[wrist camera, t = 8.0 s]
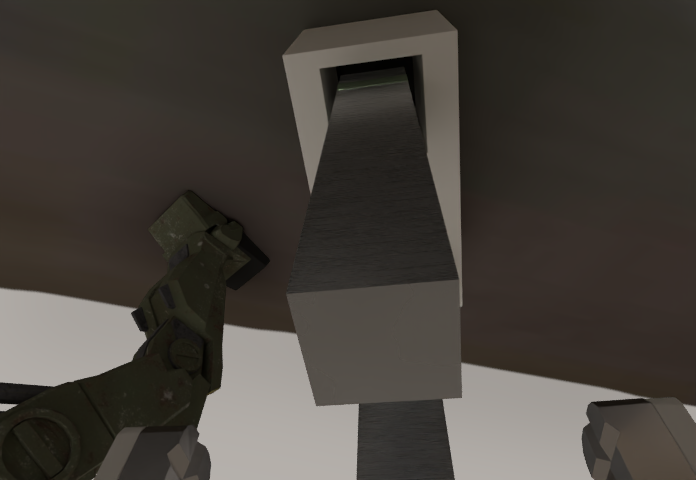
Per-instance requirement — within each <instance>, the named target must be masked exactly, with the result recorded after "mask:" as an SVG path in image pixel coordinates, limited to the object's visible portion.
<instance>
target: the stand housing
mask: <svg viewBox="0 0 696 480" xmlns="http://www.w3.org/2000/svg"><path fill="white" fill-rule="evenodd" d="M282 56H283V61H284V66H285V71H286V76H287V81H288V86H289V90H290V95H291V100H292V105H293V110H294V115H295V120H296V125H297V130H298V134H299V139H300V144H301V149H302V154H303V159H304V164H305V169H306V174H307V178H308V183H309V188H310V193H312V189H313V185H314V181H315V177H316V173H317V169H318V165H319V161H320V156H321V152H322V148H323V144H324V140H325V136H326V132H327V128H328V124H329V120H330V116H331V112H332V108H333V104H334V100H335V96H336V92H337V86H338V77H337V71H336V66H342V65H349V64H356V63H363V62H370V61H378V60H385V59H392V58H399V57H406V56H412V60H413V75H414V90H415V105H416V107H415V111H416V115H417V118H418V122H419V126H420V130H421V134H422V138H423V142H424V145H425V149H426V153H427V157H428V161H429V165H430V168H431V172H432V176H433V180H434V184H435V188H436V192H437V195H438V199H439V203H440V207H441V211H442V215H443V218H444V222H445V226H446V230H447V234H448V238H449V241H450V245H451V249H452V253H453V257H454V261H455V265H456V268H457V272H458V276H459V286H460V307H462V260H461V202H460V145H459V88H458V30H457V29H456V28H455V27H454V26H453V25H452V24H451V23H450V22H449V21H448V20H447V19H446V18H445V17H444V16H443V15H441V14H440V13H439V12H438V11H437V10H432V11H425V12H418V13H412V14H405V15H398V16H392V17H385V18H378V19H372V20H365V21H358V22H352V23H345V24H338V25H332V26H325V27H318V28H312V29H305V30H303V31H302V33H301V34H300V35H299V36H298V37H297V39H296V40H295V41H294V42H293V43H292V45H291V46H290V47H289V48H288V49H287V51H286V52H285V53H284V54H283V55H282Z"/></svg>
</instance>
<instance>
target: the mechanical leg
mask: <svg viewBox="0 0 696 480" xmlns="http://www.w3.org/2000/svg"><path fill="white" fill-rule="evenodd" d="M242 230H243V227H242V226H240V225H239V224H238V223H236V222H235V221H233V222H230V223H227V219H226V218H225V217H224V216H223V215H222V214H221V213H219V212H218V211H214V210H213V209H212V208H211V207H210V206H208V205H207V204H206V203H205V202H204V201H202V200H201V199H200V198H199V197H197V196H196V195H195V194H194V193H193V192H191V191H188V192H186V193H185V194H184V195H182V196H181V197H180V198H179V199H178V200H177V201H176V202H175V203H174V204H173V205H172V206H171V207H170V208H169V209H168V210H167V211H166V212H165V213H164V214H163V215H162V216H161V217H160V218H159V219H158V220H157V221H156V222H155V223H154V224H153V225H152V226H151V227H150V228H149V229H148V231H149V232H150V233H151V234H152V236H153V237H154V238H155V240H156V241H157V242H158V243H159V245H160V246H161V247H162V249H163V250H164V251H165V253H164V254H163V255H162V256H163V257H164V258H165V259H166V260H167V262H168V270H167V274H166V275H165V276H164V277H163V278H162V279H161V280H160V281H158V282H157V283H156V284H155V285H154V286H153V287H152V288H151V289H150V290H149V291H148V293H147V294H146V296H145V297H144V299H143V301H142V302H141V304H140V305H139V308H138V309H137V310H135V311H133V312H132V313H131V314H132V316H133V318H134V320H135V322H136V324H137V326H138V328H139V330H140V331H143V332H145V335H146V338H147V340H146V341H145V342H144V344H143V345H142V346H141V347H140V348H139V349H138V351H137V352H136V354H135V355H134V357H133V360H132V361H131V362H129V363H126V364H124V365H121V366H119V367H117V368H114V369H112V370H109V371H107V372H105V373H102V374H100V375H97V376H93V377H89V378H84V379H80V380H76V381H74V382H67V383H64V384H61V385H58V386H55V387H51V386H38V385H25V384H13V383H0V403H1V404H19V405H17V406H15V407H13V408H11V409H9V410H7V411H0V480H92V479H93V478H95V476H96V474H97V473H98V471H99V469H100V467H101V465H102V463H103V461H104V459H105V457H106V455H107V453H108V451H109V449H110V448H111V446H112V444H113V442H114V440H115V438H116V436H117V434H118V433H119V432H120V431H121V430H123V429H124V428H125V427H144V426H175V425H194V426H195V428H196V429H197V427H198V424H199V420H200V417H201V414H202V410H203V407H204V403H205V401H206V397H207V395H209V394H212V393H213V392H215V391H216V390H218V389H219V388H220V387H221V378H222V369H223V362H222V361H223V360H222V340H223V326H224V309H225V296H226V286H227V287H229V288H232V289H234V290H237V289H239V288H240V287H241V286H242V285H243V284H245V283H246V282H247V281H248V280H250V279H251V278H252V277H253V276H255V275H256V274H257V273H258V272H260V271H261V270H262V269H263V268H264V267H265V266H266V265H267V264H268V263H269V262H270V260H269V258H268V257H267V256H266V255H265V254H264V253H263V252H262V251H261V250H260V249H259V248H258V247H257V246H256V245H255V244H254V243H253V242H252V241H251V240H250V239H249V238H248V237H247V236H246V235H245V234H244V233H243V232H242Z"/></svg>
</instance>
